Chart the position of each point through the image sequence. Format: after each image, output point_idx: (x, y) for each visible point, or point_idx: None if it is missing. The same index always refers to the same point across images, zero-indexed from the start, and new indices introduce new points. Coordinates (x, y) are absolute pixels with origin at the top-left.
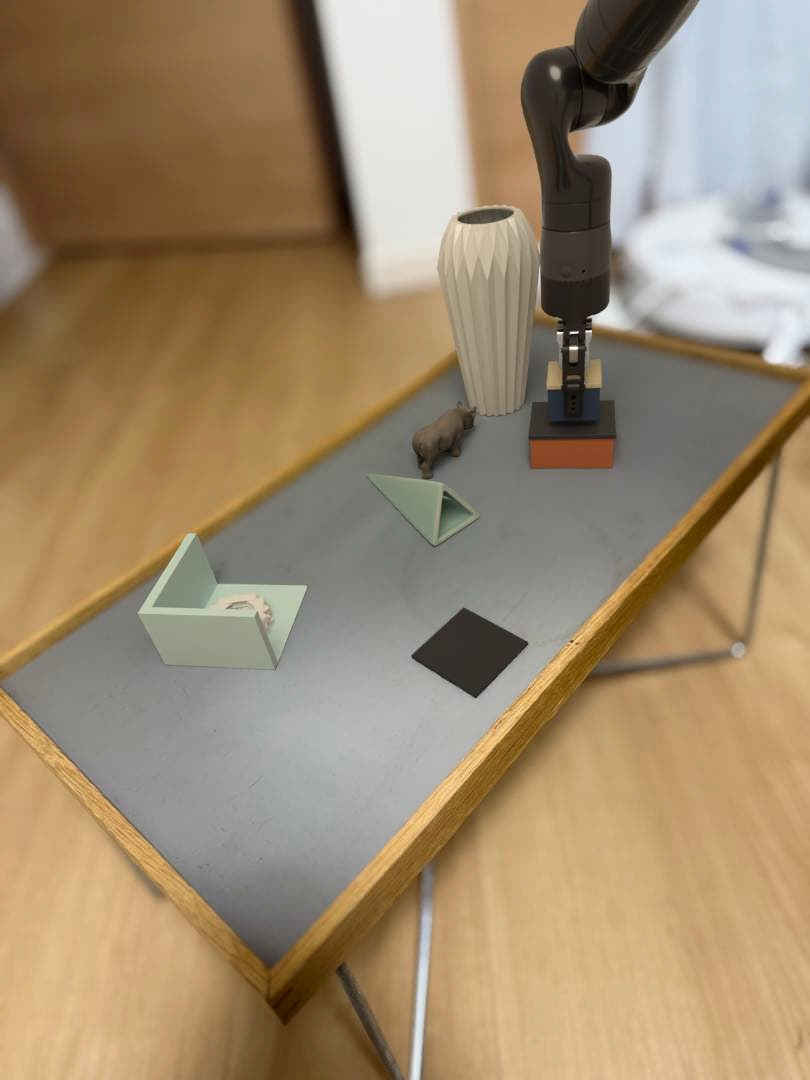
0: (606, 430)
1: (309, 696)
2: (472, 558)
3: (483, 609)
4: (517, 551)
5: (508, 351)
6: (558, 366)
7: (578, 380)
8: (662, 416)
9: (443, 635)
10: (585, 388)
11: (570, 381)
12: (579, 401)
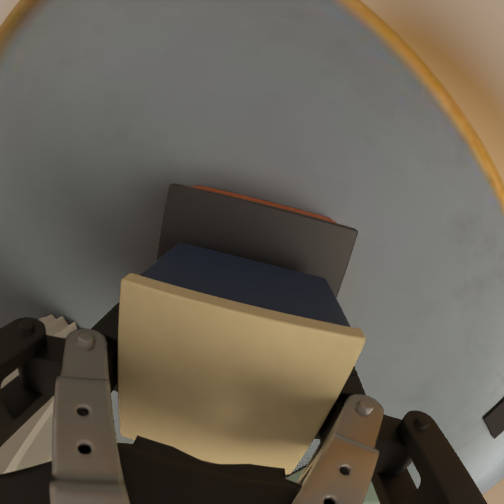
0: (331, 249)
1: (477, 472)
2: (435, 421)
3: (490, 403)
4: (451, 383)
5: (38, 431)
6: (160, 429)
7: (389, 446)
8: (159, 69)
9: (495, 425)
10: (426, 416)
11: (393, 468)
12: (359, 382)
